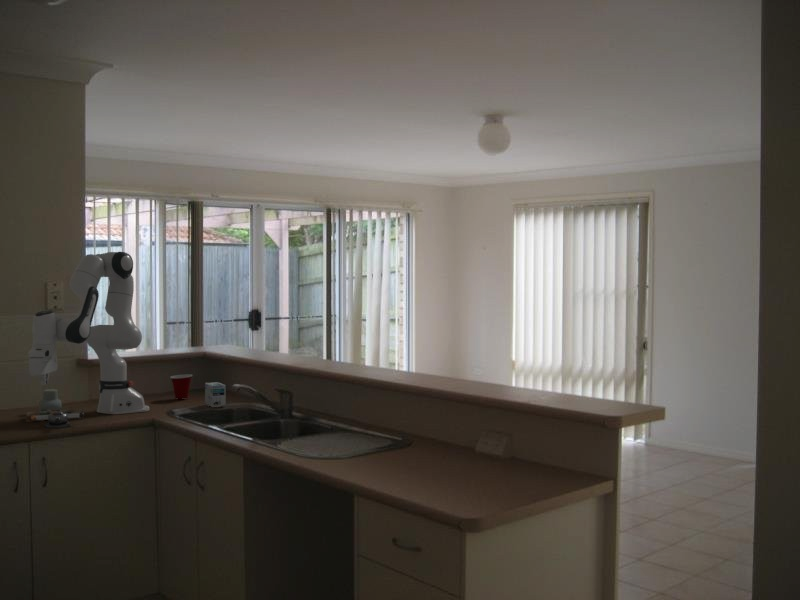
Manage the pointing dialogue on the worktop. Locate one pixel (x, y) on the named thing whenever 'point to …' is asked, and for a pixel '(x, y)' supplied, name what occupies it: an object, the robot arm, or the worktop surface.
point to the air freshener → (50, 401)
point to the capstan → (57, 417)
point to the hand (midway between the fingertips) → (44, 384)
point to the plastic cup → (181, 385)
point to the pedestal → (58, 425)
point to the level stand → (29, 414)
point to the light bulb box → (215, 394)
